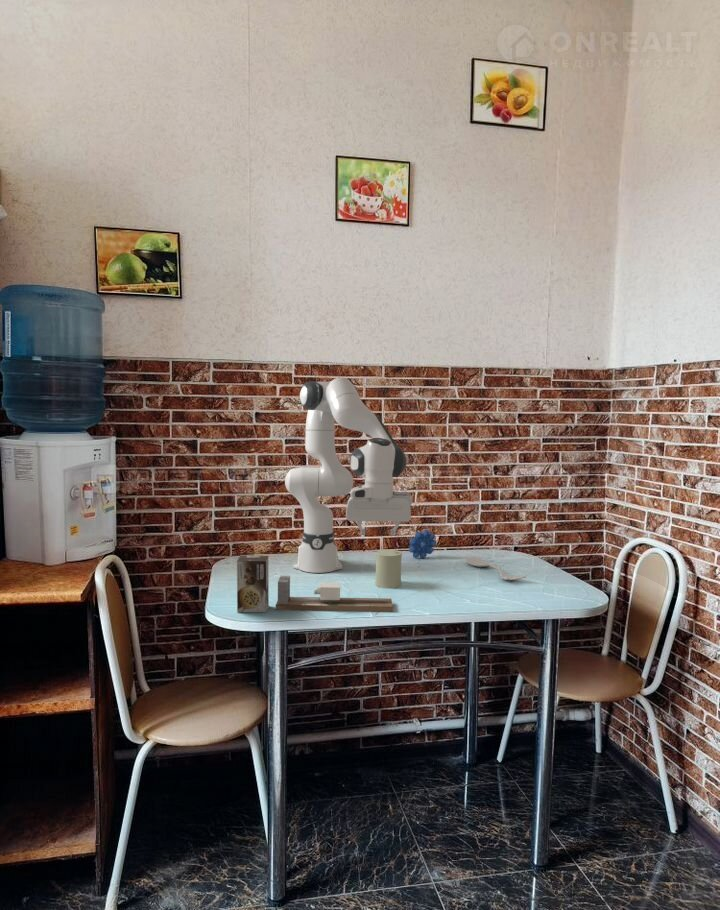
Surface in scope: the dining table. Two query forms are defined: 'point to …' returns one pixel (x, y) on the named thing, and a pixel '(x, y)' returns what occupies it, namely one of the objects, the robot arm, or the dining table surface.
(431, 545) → the grapes
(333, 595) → the block
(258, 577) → the coffee box
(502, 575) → the spoon
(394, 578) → the can
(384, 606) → the gauge base
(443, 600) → the dining table surface
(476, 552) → the dining table surface
